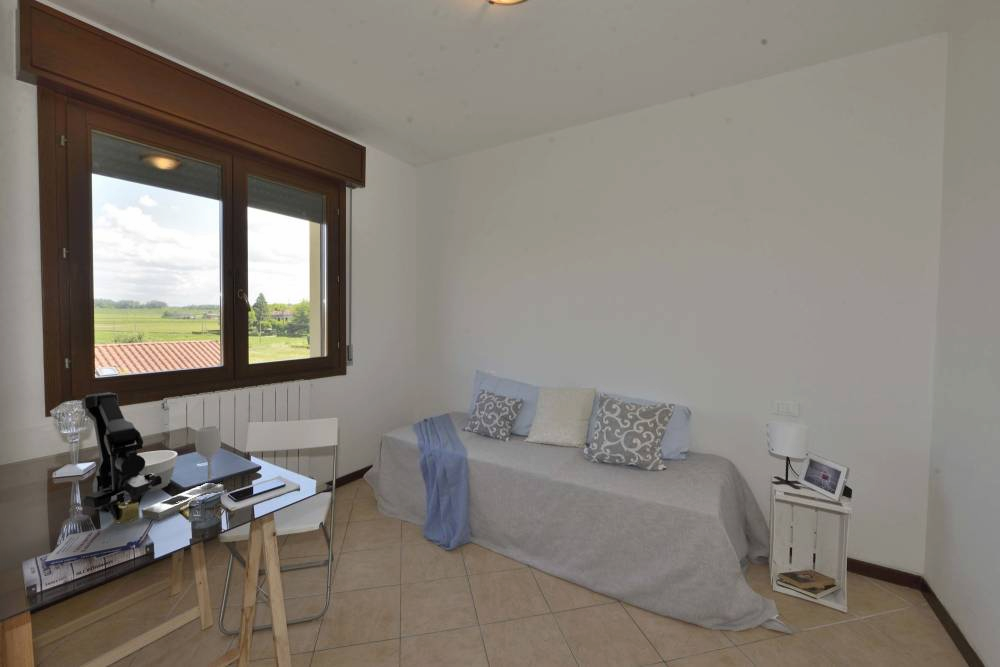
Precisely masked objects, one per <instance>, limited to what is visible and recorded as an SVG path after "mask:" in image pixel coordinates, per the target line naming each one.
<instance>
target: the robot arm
mask: <svg viewBox="0 0 1000 667" xmlns="http://www.w3.org/2000/svg"><path fill="white" fill-rule="evenodd" d="M80 404H81V408H82V410H84V412H85V413H84V414H85V416H86V417H88V418H89V419H90V420H92V421H93V425H94V432H95V437H96V443H97V447H98V448H97V449H98V454H99V459H100V464H99V466H98V468H97V469H96V471H95V476H94V479H93V483H92V491H93V493H90V494H86V495H85V497H84V498H83V499H82V504H83V506H85V507H90V508H93V509H94V508H95V510H96V511H101V512H105V513H110V514H111V515H112V518H113V517H114V518H115V519H116V520H119V516H120V515H119V504H120V503H123V502H125V501H126V500H125V494H124V493H125V492H128V493H129V494H130V495H129V496H130V497H129V498H130V500H131V501H136V502H139V506H140V505H141V502H142V500H143V497H144V496H145V495H146V494H147V493H146V492H147V491H149V490H151V488H149V486H152V487H154V486H156V485H159V484H162V478H161V476H159V475H155V474H153V473H149V474H146V475H143V476H141V475H140V473H139V472H140V471H142V470H143V468H144V467H145V460H144V458H143V457H141V456H139V455H138V454H139V453H138V452H137V451H138V450H141V449H143V448H144V447H143V445H144V441H143V439H142V435H141V433H140V431H139V430H138V429H137V428H136V427H135V425H134V423H133V422H130V421H128V420H126V419H125V417H124V414H123V413H122V410H121V408H120V406H119V397H118V393H116V392H114V393H113V392H100V393H94V394H92V393H91V394H87V395H86V396H85V397H83V398H82V399H81V403H80Z"/></svg>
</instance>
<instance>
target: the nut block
mask: <svg viewBox="0 0 1000 667" xmlns="http://www.w3.org/2000/svg"><path fill="white" fill-rule="evenodd" d="M119 515H120V516H119V520H116V519H115V518H114V517H113V516H112V520H113V521H115V522H114V523H117V522H120V523H119V524H122V523H124V524H126V523H125V522H127V523H129V522H131V521H133V520H132V519H134V520H136V519H139V518H140V505H139V502H136V501H131V499H129V500H125V502H123V503H120V504H119ZM138 517H139V518H138ZM135 518H136V519H135ZM130 520H131V521H130ZM128 521H129V522H128Z"/></svg>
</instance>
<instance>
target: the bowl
mask: <svg viewBox="0 0 1000 667" xmlns="http://www.w3.org/2000/svg"><path fill="white" fill-rule="evenodd" d="M137 454H138V455H139V456H141V457H143V458H144V460H145V467H144V468H143V470H142V471H140V472H139V473H140V475H141V476H143V475H146V474H149V473H153V474H155V475H159V476H161V478H162V484H159V485H156V486H154V487H152V486H149V488H151V490H149V491H147V492H146V493H145V494H148V492H149V493H153V492H155V491H159V490H162V489H164V488H165V487H168V486H169V485H170V484H171V482H170V480H171V481H172V478H171V477H173V474H174V470H175V465H176V461H177V458H178V452H177V451H174V450H169V449H168V450H163V449H162V450H153V451H146V452H145V451H144V452H139V453H137ZM169 483H170V484H169ZM168 484H169V485H168ZM152 491H153V492H152ZM124 495H127V496H130V494H129V493H128V492H125V493H124Z"/></svg>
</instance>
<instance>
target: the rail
mask: <svg viewBox="0 0 1000 667" xmlns="http://www.w3.org/2000/svg"><path fill="white" fill-rule="evenodd" d="M222 491H224V484H220V483H218V484H214V483H205V484H203V485H201V486H196V487H194V488H191V489H189V490H186V491H183V492H181V493H179V494H176V495H174V496H171V497H169V498H167V499H166V498H165V499H164V500H162V501H159V502H157V503H154V504H152V505H149V506H147V507H145V508H142V509H141V514H142V518H144V519H145V518H146V519H151V520H156V521H161V520H163V519H166V518H167V517H170V516H172V515H174V514H178V513H179V512H180V511H179V509H180V508H181V507H183V506H185V505H187V504H188V502H189V501H190V500H191V499H193V498H196V497H199V496H203V495H206V494H211V493H218V492H222ZM222 493H223V492H222ZM182 500H184V501H183V502H179V503H177V504H175V503H176V502H178V501H182Z"/></svg>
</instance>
